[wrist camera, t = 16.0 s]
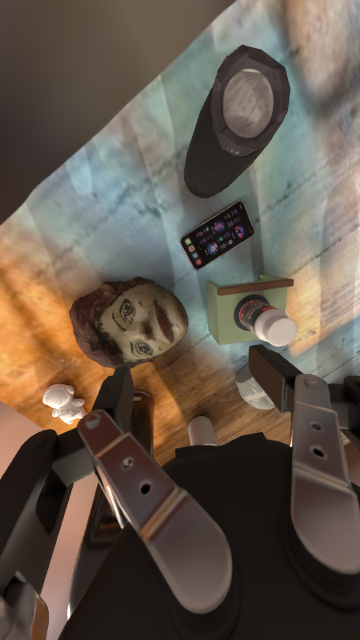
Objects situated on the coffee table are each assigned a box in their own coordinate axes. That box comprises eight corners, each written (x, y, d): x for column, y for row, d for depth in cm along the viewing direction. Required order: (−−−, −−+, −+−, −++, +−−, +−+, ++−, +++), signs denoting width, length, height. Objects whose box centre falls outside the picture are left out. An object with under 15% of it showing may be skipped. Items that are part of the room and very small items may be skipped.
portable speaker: (232, 156, 36) (312, 59, 18) (215, 210, 39) (270, 172, 21) (189, 137, 35) (229, 7, 16) (175, 194, 37) (195, 138, 19)
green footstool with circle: (263, 322, 49) (288, 339, 39) (208, 330, 48) (221, 349, 38) (264, 273, 45) (294, 279, 35) (205, 281, 44) (219, 289, 34)
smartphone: (177, 239, 39) (242, 198, 38) (177, 239, 40) (241, 198, 39) (195, 272, 42) (256, 234, 41) (194, 271, 42) (255, 234, 41)
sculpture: (203, 363, 39) (86, 403, 39) (195, 342, 48) (100, 375, 48) (170, 261, 32) (28, 310, 32) (167, 259, 41) (56, 297, 41)
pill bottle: (256, 293, 37) (290, 306, 28) (270, 314, 39) (307, 333, 30) (232, 311, 38) (258, 331, 28) (247, 332, 40) (275, 356, 30)
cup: (204, 411, 56) (212, 439, 47) (219, 431, 59) (230, 461, 51) (182, 423, 56) (187, 453, 48) (199, 443, 60) (206, 474, 51)
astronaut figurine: (62, 424, 51) (56, 434, 48) (37, 389, 47) (30, 397, 44) (93, 413, 52) (90, 423, 49) (72, 378, 47) (67, 386, 45)
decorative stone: (279, 382, 56) (293, 397, 50) (252, 404, 57) (263, 421, 52) (253, 356, 52) (265, 368, 46) (224, 380, 53) (233, 395, 48)
